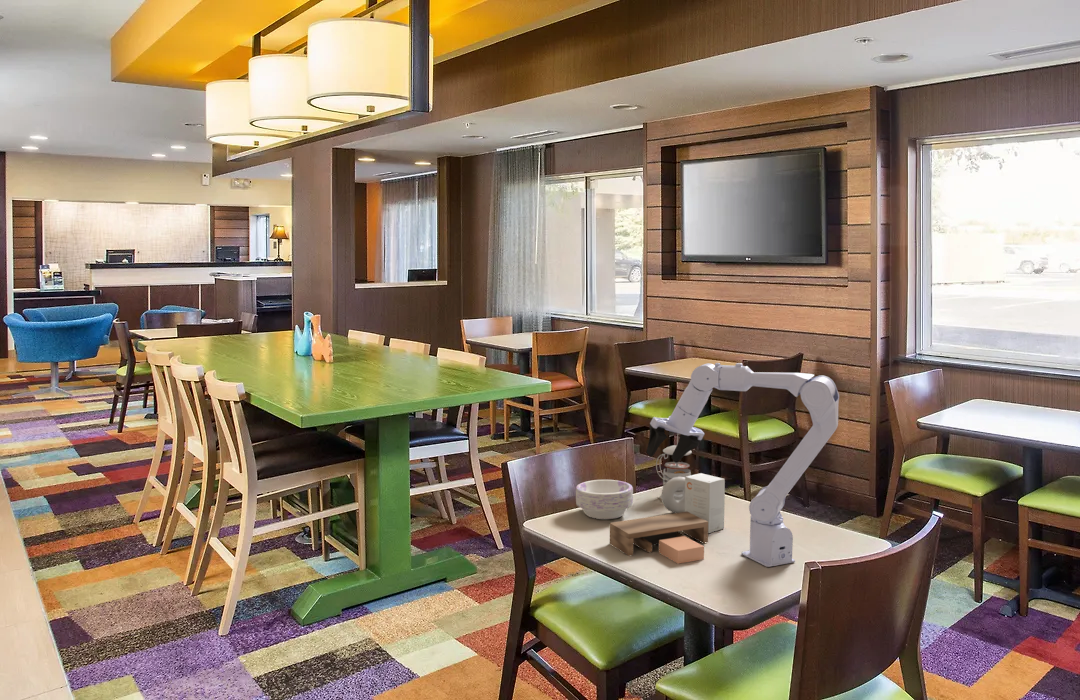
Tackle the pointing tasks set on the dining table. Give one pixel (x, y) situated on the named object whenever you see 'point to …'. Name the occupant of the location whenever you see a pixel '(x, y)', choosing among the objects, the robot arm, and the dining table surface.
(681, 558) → the cover
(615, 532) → the wooden stand
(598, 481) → the paper bowls
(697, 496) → the small box
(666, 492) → the donut
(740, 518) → the dining table surface
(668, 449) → the french press
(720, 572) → the dining table surface
